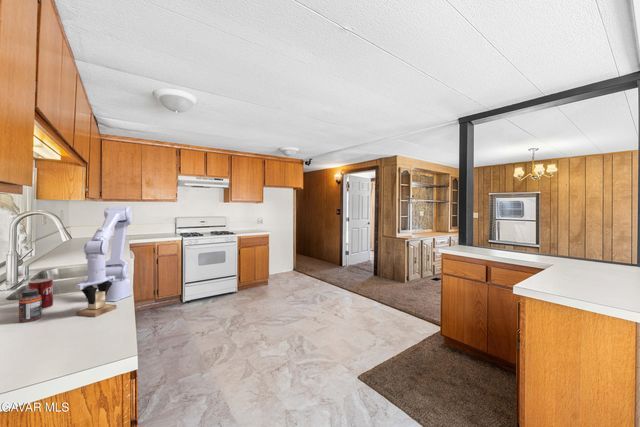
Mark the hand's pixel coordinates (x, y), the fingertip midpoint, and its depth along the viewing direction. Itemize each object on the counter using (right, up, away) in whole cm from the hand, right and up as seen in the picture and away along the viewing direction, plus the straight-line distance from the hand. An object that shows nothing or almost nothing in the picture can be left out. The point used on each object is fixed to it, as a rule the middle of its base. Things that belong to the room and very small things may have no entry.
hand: (97, 301), depth 110 cm
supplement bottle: (-19, -4, -8) cm, 21 cm away
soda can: (-27, -4, +4) cm, 28 cm away
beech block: (0, -2, 0) cm, 2 cm away
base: (0, -4, 0) cm, 4 cm away
